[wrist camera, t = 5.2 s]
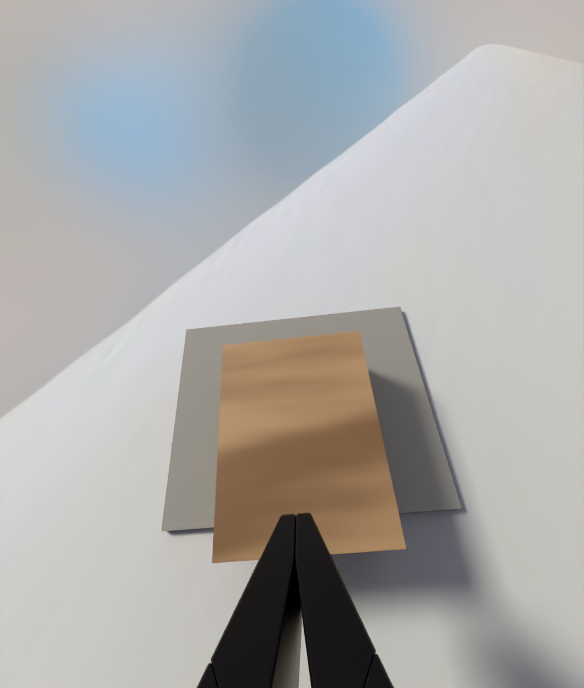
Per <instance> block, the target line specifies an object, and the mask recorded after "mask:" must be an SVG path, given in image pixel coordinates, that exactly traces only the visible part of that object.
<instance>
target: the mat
mask: <svg viewBox="0 0 584 688" xmlns="http://www.w3.org/2000/svg"><path fill="white" fill-rule="evenodd" d="M353 331H360V336H361V341H362V345H363V350H364V355H365V359H366V364H367V368H368V373H369V378H370V382H371V387H372V392H373V396H374V401H375V405H376V410H377V415H378V419H379V424H380V429H381V433H382V438H383V443H384V447H385V452H386V456H387V461H388V466H389V470H390V475H391V480H392V484H393V489H394V494H395V498H396V503H397V507H398V512H399V513H410V512H424V511H437V510H450V509H462V507H461V504H460V501H459V498H458V494H457V491H456V488H455V484H454V481H453V478H452V475H451V471H450V468H449V465H448V462H447V458H446V455H445V452H444V449H443V445H442V442H441V439H440V436H439V432H438V429H437V426H436V422H435V419H434V416H433V413H432V409H431V406H430V403H429V400H428V396H427V393H426V390H425V387H424V383H423V380H422V377H421V374H420V370H419V367H418V364H417V361H416V357H415V354H414V351H413V347H412V344H411V341H410V338H409V334H408V331H407V328H406V325H405V321H404V318H403V315H402V312H401V308H400V307H394V308H384V309H375V310H366V311H356V312H347V313H338V314H328V315H319V316H310V317H300V318H291V319H282V320H272V321H263V322H254V323H244V324H235V325H226V326H216V327H207V328H198V329H188V330H186V338H185V346H184V354H183V362H182V370H181V378H180V386H179V394H178V402H177V410H176V418H175V426H174V434H173V442H172V450H171V458H170V466H169V474H168V482H167V490H166V498H165V506H164V514H163V522H162V530H161V531H172V530H185V529H198V528H211V527H214V516H215V496H216V475H217V455H218V434H219V414H220V394H221V373H222V353H223V345H231V344H240V343H250V342H259V341H268V340H278V339H287V338H297V337H306V336H316V335H325V334H334V333H344V332H353Z"/></svg>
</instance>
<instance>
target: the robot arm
mask: <svg viewBox="0 0 584 688" xmlns="http://www.w3.org/2000/svg"><path fill="white" fill-rule="evenodd" d="M302 619H303V627H304V635H305V642H306V650H307V658H308V665H309V673H310V681H311V688H394V687H393V685H392V683H391V681H390V679H389V677H388V675H387V673H386V671H385V668H384V666H383V664H382V662H381V660H380V658H379V656H378V655H377V654H376V650H375V648H374V646H373V644H372V641H371V639H370V637H369V635H368V633H367V631H366V629H365V627H364V625H363V622H362V620H361V618H360V616H359V614H358V612H357V610H356V608H355V606H354V603H353V601H352V599H351V597H350V595H349V593H348V591H347V589H346V586H345V584H344V582H343V580H342V578H341V576H340V574H339V572H338V570H337V567H336V565H335V563H334V561H333V559H332V557H331V555H330V553H329V551H328V548H327V546H326V544H325V542H324V540H323V538H322V536H321V534H320V532H319V529H318V527H317V525H316V523H315V521H314V519H313V517H312V515H311V514H310V513H298V514H297V515H295V514H283V515H281V516H280V518H279V520H278V522H277V524H276V526H275V528H274V530H273V532H272V534H271V536H270V539H269V541H268V543H267V545H266V547H265V549H264V551H263V553H262V555H261V557H260V559H259V561H258V563H257V565H256V567H255V569H254V571H253V573H252V576H251V578H250V580H249V582H248V584H247V586H246V588H245V590H244V592H243V594H242V596H241V598H240V600H239V602H238V604H237V606H236V608H235V610H234V612H233V615H232V617H231V619H230V621H229V623H228V625H227V627H226V629H225V631H224V633H223V635H222V637H221V639H220V641H219V643H218V645H217V647H216V649H215V652H214V654H213V656H212V658H211V663H212V664H211V663H209V664H208V666H207V668H206V670H205V672H204V674H203V676H202V678H201V680H200V682H199V684H198V686H197V688H298V687H299V668H300V648H301V629H302Z"/></svg>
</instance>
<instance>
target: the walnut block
mask: <svg viewBox="0 0 584 688" xmlns="http://www.w3.org/2000/svg"><path fill="white" fill-rule="evenodd" d="M298 513H310V514H311V515H312V517H313V519H314V521H315V523H316V525H317V527H318V529H319V532H320V534H321V536H322V538H323V540H324V542H325V544H326V546H327V548H328V551H329V553H330V554H344V553H358V552H371V551H385V550H399V549H406V545H405V540H404V535H403V531H402V526H401V521H400V517H399V512H398V507H397V503H396V498H395V494H394V489H393V484H392V480H391V475H390V470H389V466H388V461H387V456H386V452H385V447H384V443H383V438H382V433H381V429H380V424H379V419H378V415H377V410H376V405H375V401H374V396H373V392H372V387H371V382H370V378H369V373H368V368H367V364H366V359H365V355H364V350H363V345H362V341H361V336H360V331H353V332H344V333H334V334H325V335H316V336H306V337H297V338H287V339H278V340H268V341H259V342H250V343H240V344H231V345H223V353H222V373H221V394H220V414H219V434H218V455H217V475H216V496H215V516H214V536H213V557H212V563H220V562H234V561H247V560H259V559H260V557H261V555H262V553H263V551H264V549H265V547H266V545H267V543H268V541H269V539H270V536H271V534H272V532H273V530H274V528H275V526H276V524H277V522H278V520H279V518H280V516H281V515H283V514H295V515H297V514H298Z"/></svg>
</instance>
